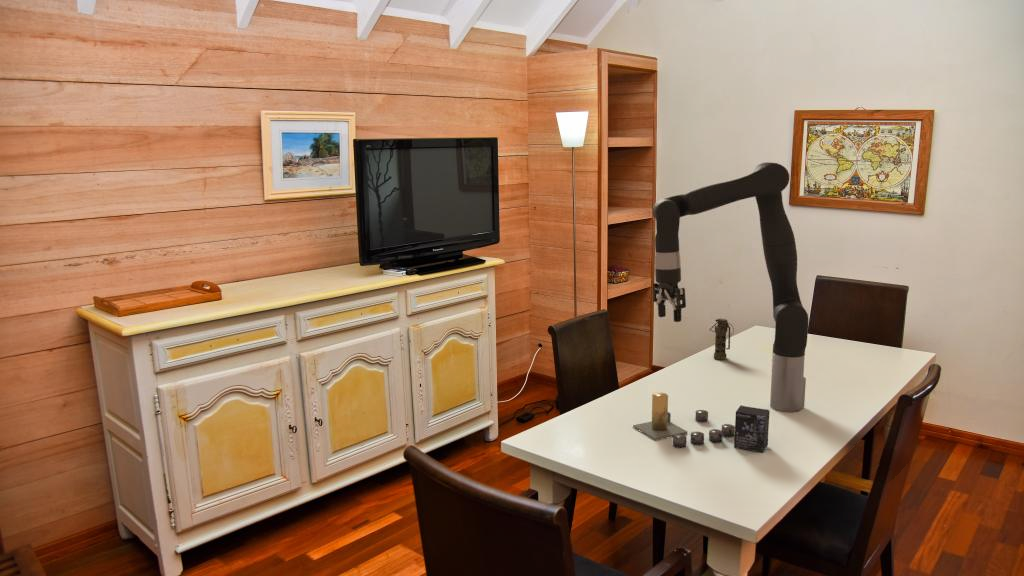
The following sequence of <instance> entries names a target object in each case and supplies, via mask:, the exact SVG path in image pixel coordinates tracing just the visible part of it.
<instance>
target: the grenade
mask: <svg viewBox="0 0 1024 576" xmlns="http://www.w3.org/2000/svg"><path fill="white" fill-rule="evenodd" d="M714 321H715V323H714V325H713V326H711V327H710V328H709V331H710V332H712V333H715V337H714V340H715V341H714V347H715V348H714V352H713V358H714V360H717V361H724V360H727V353H726V350H730V348H731V336H733V334H734V331H735V330H734V326H733V325H732V324H731V323H729V322H728V320H727V319H725V318H717V319H715V320H714ZM730 326H731V327H732V330H733V331H732V333H731V327H730ZM713 328H714V330H712V329H713ZM727 332H728V339H727ZM727 340H728V342H727ZM726 342H727V343H728V346H726V345H727V343H726Z"/></svg>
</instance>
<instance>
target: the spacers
mask: <svg viewBox="0 0 1024 576" xmlns="http://www.w3.org/2000/svg"><path fill="white" fill-rule="evenodd" d="M671 415H672V414H671V412H670V411H668V418H667V422H671V418H672V417H671ZM694 420H695V421H696V422H697V423H707V422H708V421H709V411H707V410H705V409H697V410H696V411H695V419H694ZM723 437H724V438H733V437H734V438H735V425H733V424H730V423H729V424H728V423H725V424H721V430H720V429H714V428H713V429H710V430H709V431H708V441H709V442H711V443H715V444H716V443H717V444H719V443H722V442H723ZM690 444H691V445H694V446H702V445H704V444H705V433H704V432H701V431H692V432H690ZM672 446H673V448H677V449H685V448H686V447H687V436H686V435H685V434H683V435H681V434H677V435H674V436H673V437H672Z"/></svg>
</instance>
